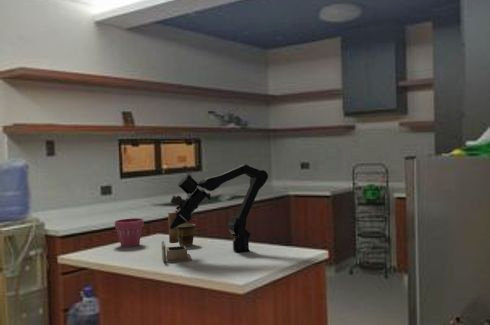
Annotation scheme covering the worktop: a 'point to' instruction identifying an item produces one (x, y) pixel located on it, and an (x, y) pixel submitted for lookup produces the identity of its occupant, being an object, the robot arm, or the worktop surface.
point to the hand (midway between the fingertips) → (170, 227)
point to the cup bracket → (175, 254)
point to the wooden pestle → (172, 232)
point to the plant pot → (129, 231)
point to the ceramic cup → (186, 234)
